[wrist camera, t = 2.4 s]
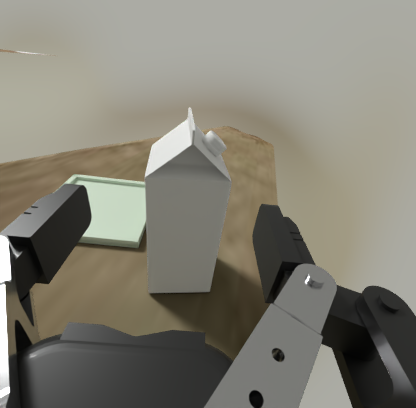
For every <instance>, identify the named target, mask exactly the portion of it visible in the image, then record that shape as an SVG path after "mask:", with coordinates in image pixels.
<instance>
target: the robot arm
mask: <svg viewBox="0 0 416 408" xmlns="http://www.w3.org/2000/svg"><path fill="white" fill-rule="evenodd" d="M91 218H92V214H91V208H90V203H89V198H88V193H87V189H86V187H85V186H84V185H77V184H67V183H66V184H64V185H62V186H61V187H60V188H59V189H58V190H57V191H56V192H55V193H51V194H49V195H47V196H45V197H43V198H40V199H39V200H38V201H37V202H35V203H34V204H33V205H32V206H31V208H28V209H27V210H26V211H25V212H24V214H21V215H20V216H19V217H18V218H17V219H16V220H14V221H13V222H12V223H11V224H10V225H9V226H7V227H6V228H5V229H4V230H3V231H2V232H0V408H298V407H299V404H300V401H301V399H302V396H303V393H304V390H305V387H306V384H307V382H308V379H309V376H310V373H311V370H312V368H313V365H314V362H315V359H316V356H317V354H318V351H319V348H320V345H321V344H323V345H326V346H328V347H331V348H332V350H333V352H334V355H335V358H336V361H337V364H338V367H339V370H340V372H341V375H342V378H343V381H344V384H345V387H346V390H347V393H348V396H349V399H350V401H351V404H352V407H353V408H416V316H415V315H414V313H413V312H412V310H411V309H410V308H409V307H408V305H407V304H406V303H405V302H404V301H403V300H402V299H401V298H400V297H399V296H397V295H396V294H394V293H393V292H391V291H389V290H387V289H385V288H382V287H379V286H368V287H366V288H365V289H364V291H363V292H362V293H358V292H355V291H352V290H349V289H346V288H344V287H341V286H338V285H336V282H335V280H334V279H333V277H332V276H331V275H330V274H329V273H327V271H325V270H324V269H322V268H320V267H318V266H316V265H315V263H314V261H313V259H312V257H311V255H310V252H309V250H308V248H307V246H306V244H305V242H304V241H303V238H302V236H301V235H300V232H299V229H298V227H297V225H296V224H295V223H294V222H293V221H292V220H291V219H290V218H289V217H283V215H282V213H281V211H280V208H279V206H277V205H267V204H261V206H260V208H259V212H258V215H257V219H256V223H255V226H254V230H253V246H254V250H255V255H256V260H257V265H258V269H259V274H260V279H261V284H262V289H263V293H264V298H265V303H271V304H270V306H269V307H268V309H267V310H266V312H265V313H264V315H263V316H262V318H261V320H260V321H259V323H258V324H257V326H256V327H255V329H254V331H253V332H252V334H251V335H250V337H249V338H248V340H247V341H246V343H245V345H244V346H243V348H242V349H241V351H240V352H239V354H238V355H237V357H236V359H235V360H234V362H233V361H232V360H231V359H230V358H229V357H228V356H227V355H226V354H224V353H223V352H222V351H220V350H219V349H217V348H215V347H213V346H211V345H209V344H206V343H205V333H204V332H191V331H177V330H170V331H165V332H159V333H154V334H149V335H143V336H131V335H129V334H126V333H123V332H121V331H118V330H115V329H113V328H110V327H107V326H105V325H98V324H85V323H72V322H68V324H67V326H66V328H65V330H64V332H63V334H59V335H55V336H52V337H49V338H46V339H44V340H40V336H39V332H38V326H37V319H36V313H35V306H34V299H33V293H32V291H31V288H32V286H33V285H34V284H35V283H42V284H49V283H50V281H51V280H52V279H53V277H54V276H55V274H56V273H57V271H58V270H59V269H60V267H61V266H62V264H63V263H64V261H65V260H66V259H67V257H68V256H69V254H70V253H71V252H72V250H73V249H74V247H75V246H76V244H77V243H78V242H79V240H80V239H81V237H82V236H83V234H84V233H85V232H86V230H87V229H88V227H89V226H90V223H91ZM381 358H382V359H381ZM382 360H383V361H382ZM383 362H384V363H383ZM384 364H385V365H384ZM385 366H386V367H385ZM386 368H387V369H386ZM387 370H388V371H387ZM388 372H389V373H388ZM389 374H390V375H389ZM390 376H391V377H390ZM391 378H392V379H391Z"/></svg>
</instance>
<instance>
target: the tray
mask: <svg viewBox="0 0 416 408" xmlns="http://www.w3.org/2000/svg"><path fill="white" fill-rule="evenodd" d="M66 183H67V184H77V185H84V186H85V187H86V189H87V193H88V198H89V203H90V208H91V214H92V218H91V223H90V226H89V227H88V229H87V230H86V232H85V233H84V234H83V236H82V237H81V239H80V240H79V242H80V243H91V244H101V245H111V246H121V247H131V248H138V247H139V245H140V242H141V239H142V237H143V234H144V231H145V229H146V199H145V182H138V181H130V180H121V179H112V178H103V177H95V176H86V175H77V174H74V175H73V176H72V177H71V178H70V179H68V180H67V181H66V182H65V183H64V184H66ZM64 184H63V185H64ZM55 192H56V191H55ZM55 192H54V193H55Z"/></svg>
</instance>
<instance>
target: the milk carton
mask: <svg viewBox="0 0 416 408" xmlns="http://www.w3.org/2000/svg"><path fill="white" fill-rule="evenodd" d="M225 150H226V146H225V144H224V143H223V141H222V140H221V139H220V138H219V137H218V136H217V134H216V133H214V132H213V131H209V132H208V133H207V135H205V134H204V133H203V132H202V131H201V130H200V129H199V128H198V127H197V126H196V125H195V124H194V119H193V115H192V110H191V107H189V110H188V119H187V120H186V121H184V122H183V123H182V124H180V125H179V126H177V127H176V128H175V129H173V130H172V131H171V132H169V133H168V134H167V135H165V136H164V137H162V138H161V139H160V140H158V141H157V142H156V143H154V144H153V145H152V148H151V152H150V156H149V161H148V165H147V169H146V173H145V199H146V232H147V264H148V293H186V292H210V288H211V283H212V278H213V273H214V268H215V264H216V259H217V254H218V249H219V244H220V239H221V234H222V229H223V224H224V219H225V214H226V209H227V204H228V200H229V195H230V189H231V183H232V182H231V179H230V176H229V173H228V171H227V169H226V166H225V163H224V161H223V158H222V156H221V153H222V152H224V151H225Z"/></svg>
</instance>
